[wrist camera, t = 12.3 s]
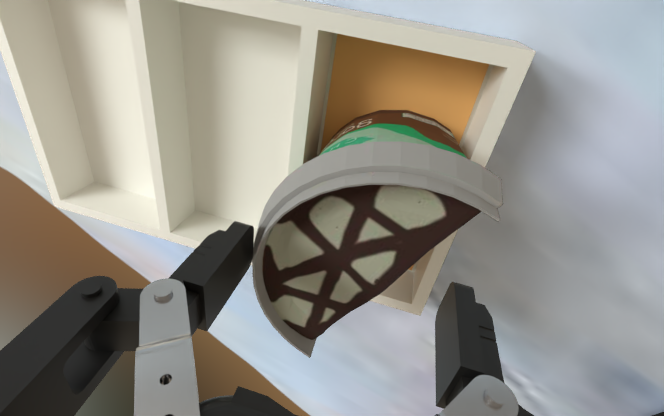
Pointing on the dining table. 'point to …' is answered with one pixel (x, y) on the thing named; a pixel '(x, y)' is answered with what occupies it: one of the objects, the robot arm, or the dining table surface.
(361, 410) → the dining table surface
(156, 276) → the dining table surface
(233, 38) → the cream compartment tray
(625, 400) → the dining table surface
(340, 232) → the food container
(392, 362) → the dining table surface
